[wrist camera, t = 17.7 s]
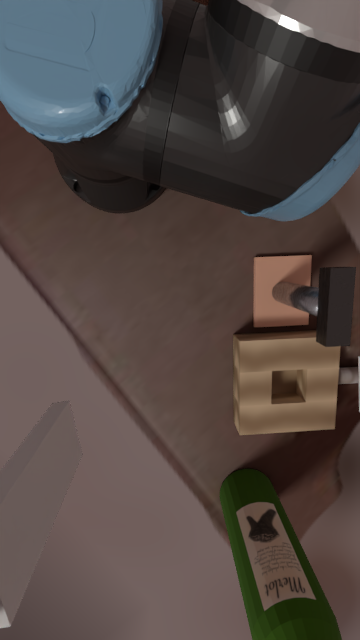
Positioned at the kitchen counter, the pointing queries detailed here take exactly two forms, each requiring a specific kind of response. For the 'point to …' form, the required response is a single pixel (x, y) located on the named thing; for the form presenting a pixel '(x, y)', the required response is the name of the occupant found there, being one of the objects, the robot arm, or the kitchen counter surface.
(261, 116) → the robot arm
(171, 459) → the kitchen counter surface
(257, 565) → the wine bottle
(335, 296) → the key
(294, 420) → the jig
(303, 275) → the mat
